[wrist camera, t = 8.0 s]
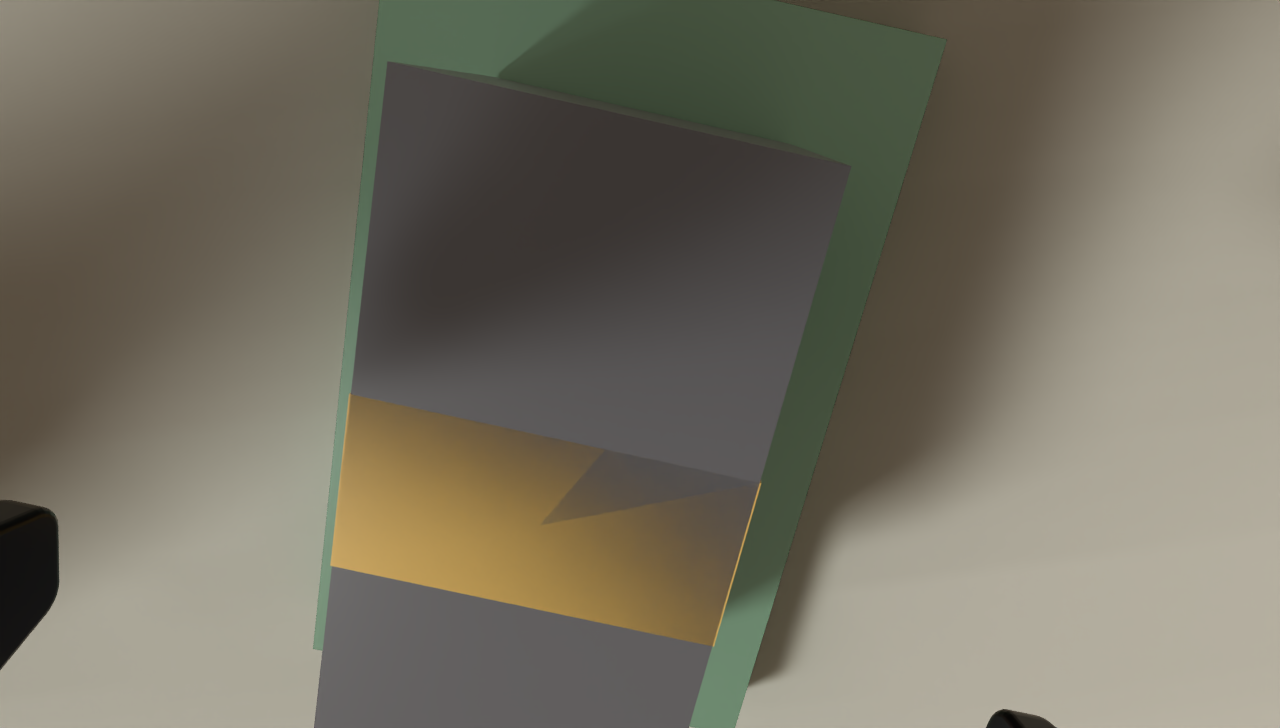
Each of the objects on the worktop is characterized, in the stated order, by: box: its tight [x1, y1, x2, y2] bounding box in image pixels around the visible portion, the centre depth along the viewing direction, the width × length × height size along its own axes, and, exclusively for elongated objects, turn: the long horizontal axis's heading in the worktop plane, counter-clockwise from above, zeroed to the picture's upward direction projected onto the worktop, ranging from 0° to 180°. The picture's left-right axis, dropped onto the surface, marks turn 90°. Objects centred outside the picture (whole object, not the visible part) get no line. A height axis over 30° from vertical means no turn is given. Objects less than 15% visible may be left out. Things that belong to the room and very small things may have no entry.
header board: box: [313, 0, 947, 728], centre depth 14 cm, size 9×14×4 cm, turn 168°
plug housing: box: [314, 61, 851, 728], centre depth 12 cm, size 5×10×5 cm, turn 168°
